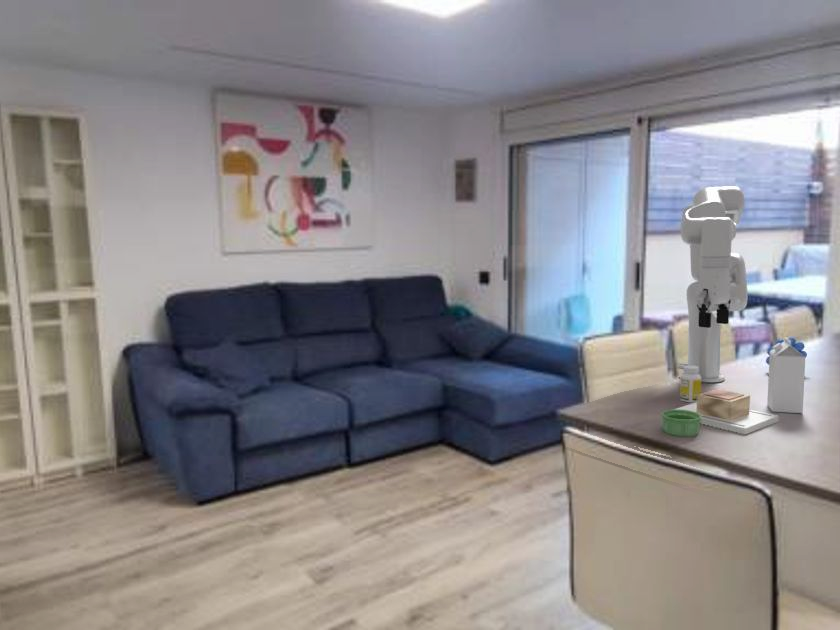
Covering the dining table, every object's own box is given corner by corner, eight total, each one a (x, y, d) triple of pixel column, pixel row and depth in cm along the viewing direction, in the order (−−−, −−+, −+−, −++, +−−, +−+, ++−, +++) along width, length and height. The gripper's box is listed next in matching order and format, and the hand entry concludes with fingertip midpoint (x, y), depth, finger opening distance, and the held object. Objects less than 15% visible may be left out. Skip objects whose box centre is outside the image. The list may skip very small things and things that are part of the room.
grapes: (805, 372, 212) (807, 336, 210) (806, 376, 206) (808, 339, 204) (765, 369, 218) (767, 334, 216) (765, 373, 212) (766, 337, 210)
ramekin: (697, 440, 148) (698, 421, 148) (657, 434, 153) (657, 416, 153) (703, 429, 156) (704, 411, 155) (665, 424, 161) (665, 407, 160)
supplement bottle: (700, 399, 183) (701, 365, 181) (700, 403, 178) (701, 369, 177) (680, 397, 185) (681, 364, 184) (679, 402, 180) (680, 368, 179)
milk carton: (796, 406, 172) (800, 337, 170) (802, 414, 166) (806, 341, 163) (767, 405, 175) (770, 336, 172) (772, 412, 168) (775, 341, 166)
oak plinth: (696, 412, 164) (696, 393, 164) (715, 406, 170) (715, 388, 169) (730, 420, 157) (731, 400, 156) (749, 413, 162) (750, 394, 162)
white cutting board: (669, 416, 167) (669, 410, 167) (703, 405, 176) (703, 399, 176) (745, 434, 151) (745, 428, 151) (778, 421, 160) (778, 415, 160)
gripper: (717, 261, 183) (715, 321, 185) (685, 264, 173) (684, 327, 175) (744, 262, 177) (742, 323, 179) (712, 265, 167) (711, 330, 169)
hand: (713, 325), depth 177 cm, fingers open, 9 cm apart
